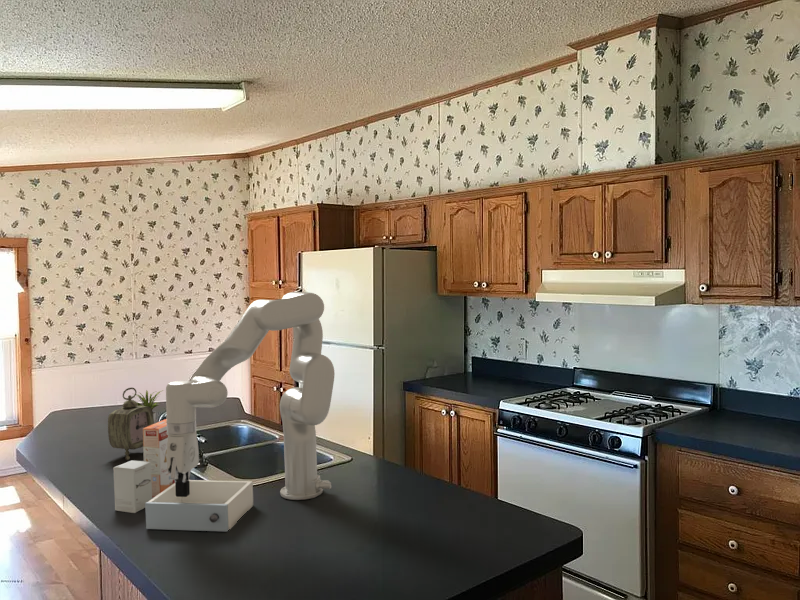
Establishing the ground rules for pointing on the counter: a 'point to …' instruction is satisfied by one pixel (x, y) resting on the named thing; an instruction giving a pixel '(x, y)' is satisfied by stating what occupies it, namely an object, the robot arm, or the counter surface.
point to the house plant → (150, 404)
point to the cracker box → (157, 456)
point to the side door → (186, 516)
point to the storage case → (215, 496)
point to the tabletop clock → (129, 424)
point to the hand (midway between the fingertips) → (182, 495)
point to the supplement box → (132, 486)
